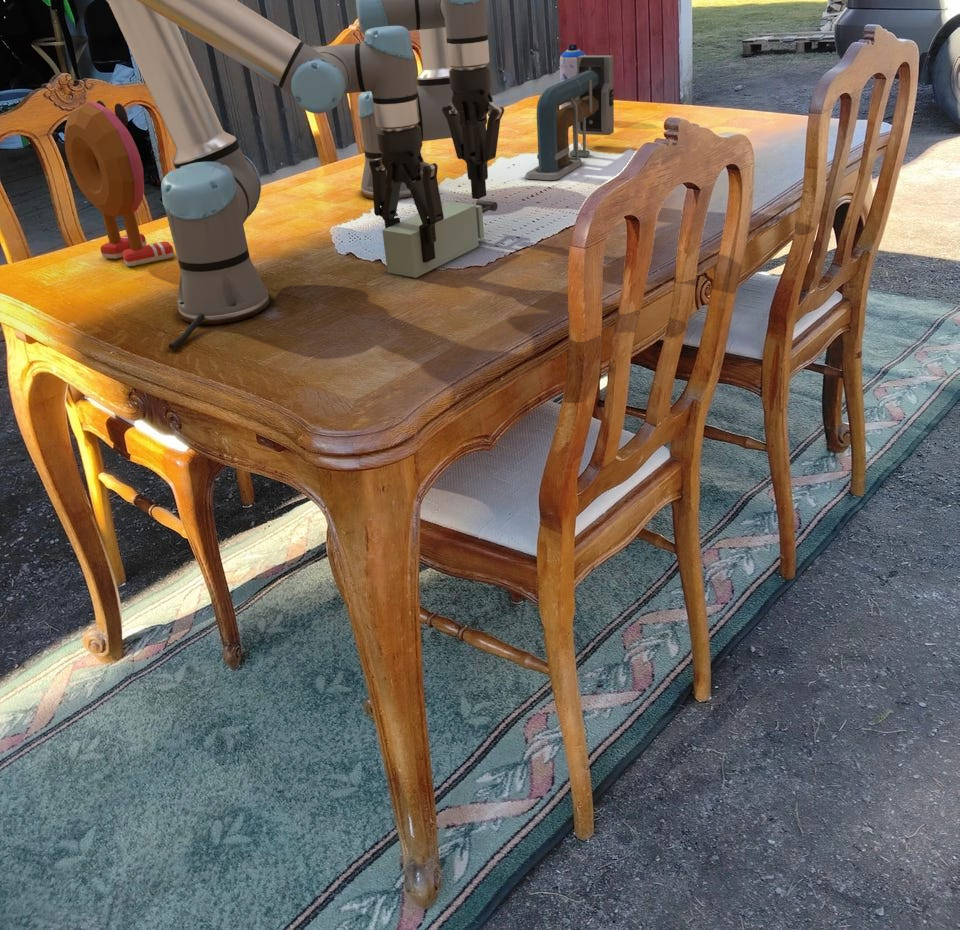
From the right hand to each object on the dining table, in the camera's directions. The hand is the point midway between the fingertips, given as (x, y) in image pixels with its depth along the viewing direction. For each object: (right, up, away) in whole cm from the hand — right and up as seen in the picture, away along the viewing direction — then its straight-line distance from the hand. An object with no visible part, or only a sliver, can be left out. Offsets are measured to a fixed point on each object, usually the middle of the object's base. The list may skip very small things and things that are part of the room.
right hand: (479, 196), depth 187 cm
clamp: (+22, +22, +50) cm, 59 cm away
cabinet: (-8, -13, -6) cm, 17 cm away
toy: (-69, -10, +9) cm, 71 cm away
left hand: (-12, -14, -11) cm, 22 cm away
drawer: (-5, -10, -2) cm, 11 cm away
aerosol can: (+27, +47, +91) cm, 106 cm away
